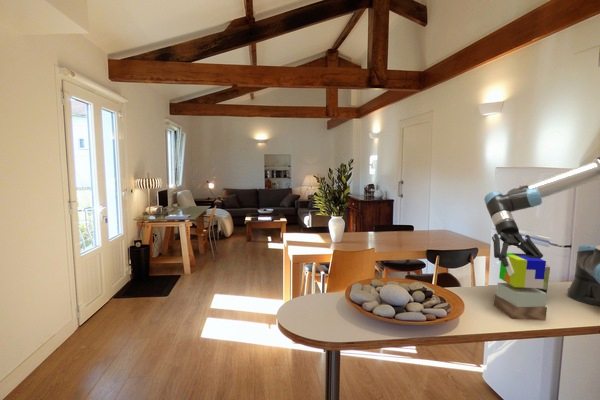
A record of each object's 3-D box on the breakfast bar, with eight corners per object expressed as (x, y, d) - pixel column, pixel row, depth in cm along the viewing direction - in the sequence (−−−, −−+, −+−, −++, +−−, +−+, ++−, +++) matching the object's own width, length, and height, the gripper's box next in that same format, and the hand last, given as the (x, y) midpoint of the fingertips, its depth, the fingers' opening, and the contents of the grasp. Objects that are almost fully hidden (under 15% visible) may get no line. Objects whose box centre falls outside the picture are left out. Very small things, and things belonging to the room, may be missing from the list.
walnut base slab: (523, 307, 134) (525, 295, 134) (545, 321, 122) (547, 307, 122) (493, 306, 134) (494, 293, 134) (512, 319, 122) (513, 306, 122)
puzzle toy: (542, 288, 122) (546, 261, 121) (514, 287, 122) (517, 259, 121) (525, 279, 132) (527, 253, 131) (499, 277, 132) (501, 252, 131)
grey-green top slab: (522, 295, 134) (524, 282, 133) (545, 306, 123) (546, 293, 122) (496, 295, 132) (497, 282, 132) (516, 306, 122) (518, 293, 121)
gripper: (527, 231, 141) (551, 280, 127) (473, 228, 141) (490, 278, 127) (538, 220, 135) (564, 271, 121) (481, 218, 135) (500, 268, 121)
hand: (526, 274), depth 124 cm, fingers closed on puzzle toy, 10 cm apart
